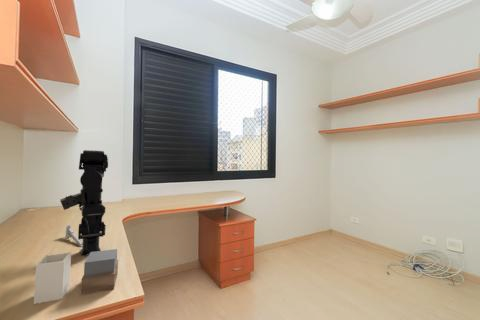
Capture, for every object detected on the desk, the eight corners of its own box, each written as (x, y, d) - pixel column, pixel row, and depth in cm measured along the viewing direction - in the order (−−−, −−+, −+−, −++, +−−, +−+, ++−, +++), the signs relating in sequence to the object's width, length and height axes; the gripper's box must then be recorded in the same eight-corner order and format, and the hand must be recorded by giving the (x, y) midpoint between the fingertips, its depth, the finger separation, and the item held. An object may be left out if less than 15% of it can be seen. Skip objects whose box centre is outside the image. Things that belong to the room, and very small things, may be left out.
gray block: (89, 264, 68) (90, 252, 68) (116, 261, 71) (117, 248, 71) (83, 276, 61) (84, 262, 61) (113, 272, 64) (114, 258, 64)
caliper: (65, 237, 105) (66, 224, 105) (68, 237, 106) (68, 224, 106) (81, 247, 93) (82, 233, 93) (84, 247, 94) (85, 232, 94)
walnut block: (88, 277, 69) (89, 263, 69) (117, 273, 72) (118, 259, 72) (80, 295, 59) (81, 278, 60) (114, 289, 63) (114, 273, 63)
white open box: (44, 290, 61) (46, 255, 61) (69, 286, 63) (71, 252, 64) (33, 304, 55) (36, 264, 55) (61, 299, 58) (64, 261, 58)
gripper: (62, 184, 78) (60, 227, 77) (62, 189, 64) (59, 242, 63) (99, 183, 85) (97, 223, 85) (106, 188, 71) (104, 235, 70)
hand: (90, 230), depth 75 cm, fingers open, 9 cm apart
